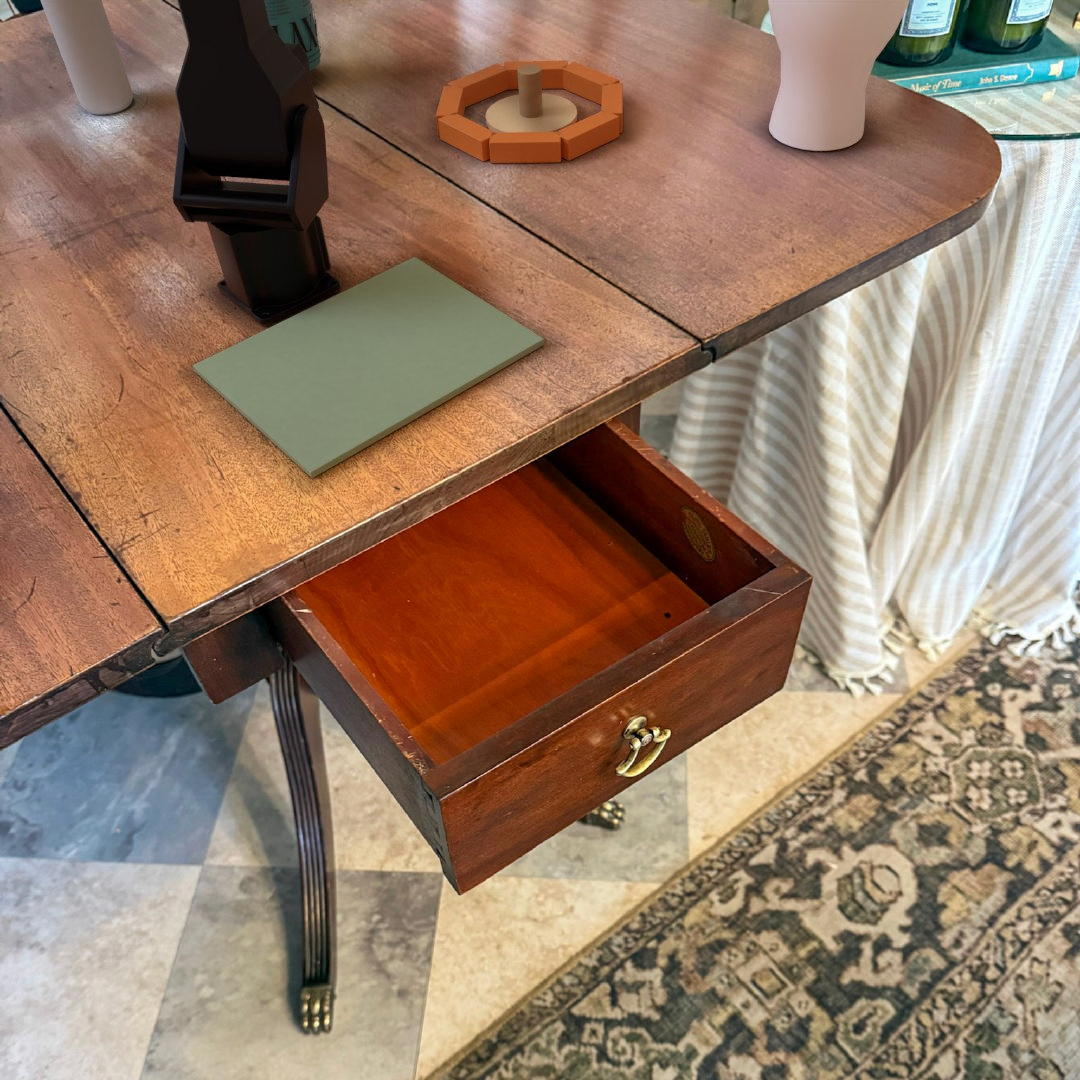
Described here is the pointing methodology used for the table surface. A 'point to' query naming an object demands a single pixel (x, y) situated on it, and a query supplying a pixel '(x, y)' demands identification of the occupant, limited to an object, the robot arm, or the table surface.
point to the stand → (531, 107)
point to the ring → (530, 143)
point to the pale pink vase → (827, 67)
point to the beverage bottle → (295, 25)
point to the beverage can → (90, 54)
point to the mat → (365, 363)
